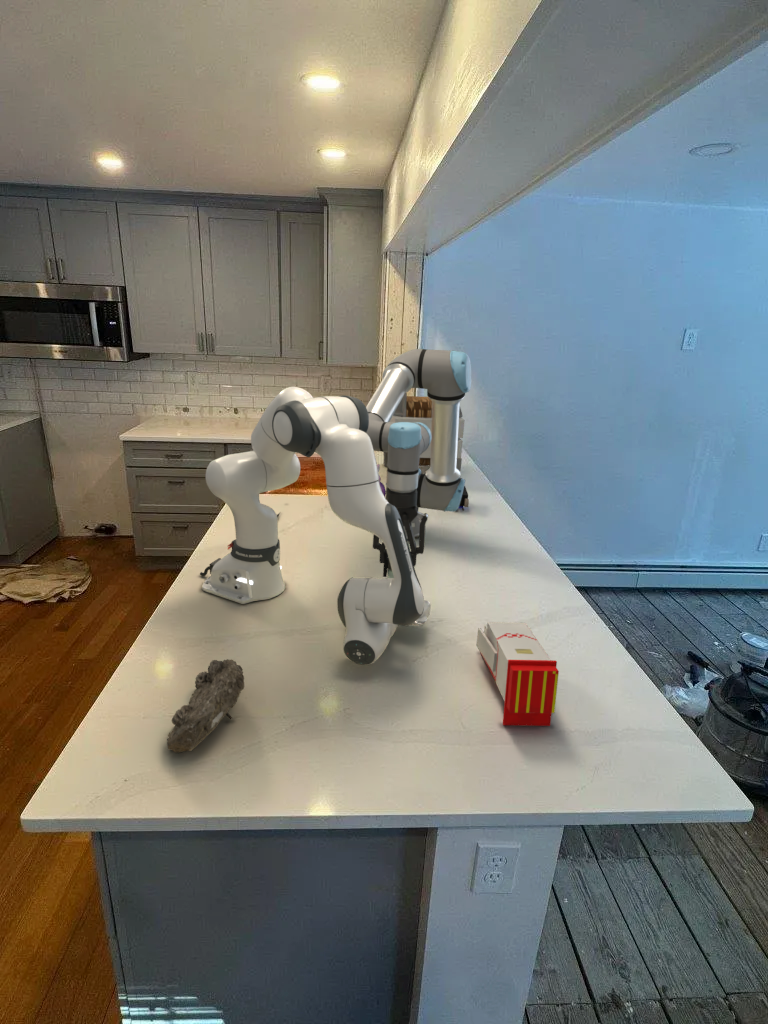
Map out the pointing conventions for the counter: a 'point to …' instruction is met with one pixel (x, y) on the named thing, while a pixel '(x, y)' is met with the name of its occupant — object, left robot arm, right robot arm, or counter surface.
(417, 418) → the grey slatted crate
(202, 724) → the fossil
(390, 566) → the lid
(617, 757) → the counter surface
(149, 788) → the counter surface
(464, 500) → the figurine character
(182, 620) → the counter surface
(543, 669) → the toy
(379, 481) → the figurine
